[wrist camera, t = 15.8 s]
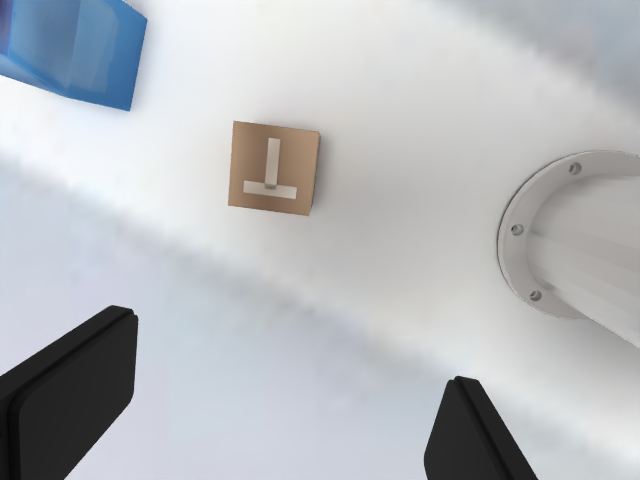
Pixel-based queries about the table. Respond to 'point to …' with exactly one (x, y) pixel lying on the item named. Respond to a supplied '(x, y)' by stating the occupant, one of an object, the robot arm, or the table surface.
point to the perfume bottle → (73, 47)
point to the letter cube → (273, 168)
